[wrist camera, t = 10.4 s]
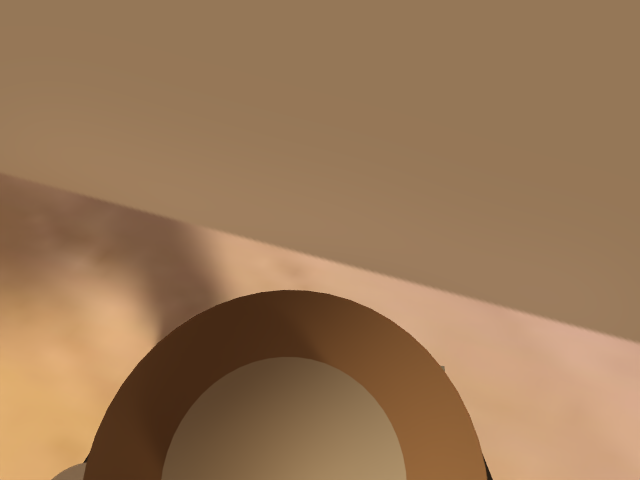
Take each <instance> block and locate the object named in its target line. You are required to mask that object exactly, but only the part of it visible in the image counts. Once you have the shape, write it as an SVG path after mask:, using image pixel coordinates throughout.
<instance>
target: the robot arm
mask: <svg viewBox="0 0 640 480" xmlns="http://www.w3.org/2000/svg"><path fill="white" fill-rule="evenodd" d="M89 454H90V453H89ZM482 455H483V454H482ZM88 457H89V455H88V456H87V458H86V459H85V461H84V463H82V464H78V465H75V466H72V467H70V468H68V469H66V470H64V471H62V472H61V473H59V474H58V475H57V476H55V477H54V478H53V479H52V480H83V477H84V473H85V468H86V463H87V460H88ZM483 459H484V457H483ZM484 464H485V468H486V475H487V480H493V479H492V477H491V474H490V472H489V469H488V467H487V464H486V462H485V459H484Z"/></svg>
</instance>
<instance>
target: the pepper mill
mask: <svg viewBox="0 0 640 480" xmlns="http://www.w3.org/2000/svg"><path fill="white" fill-rule="evenodd" d="M83 480H487V475H486V468H485V464H484V459H483V455H482V451H481V447H480V443H479V440H478V437H477V434H476V431H475V429H474V426H473V423H472V421H471V418H470V415H469V413H468V411H467V409H466V407H465V405H464V403H463V401H462V399H461V397H460V395H459V393H458V391H457V390H456V388H455V387H454V385H453V384H452V382H451V381H450V379H449V378H448V376H447V375H446V373H445V372H444V370H443V369H442V368H441V366H440V365H439V364H438V363H437V362H436V360H435V359H434V358H433V357H432V356H431V354H430V353H429V352H428V351H427V350H426V349H425V348H424V347H423V346H422V345H421V344H420V343H419V342H418V341H417V340H416V339H414V338H413V337H412V336H411V335H410V334H409V333H408V332H406V331H405V330H404V329H402V328H401V327H400V326H398V325H397V324H395V323H394V322H393V321H391V320H390V319H388V318H386V317H385V316H383V315H381V314H379V313H377V312H376V311H374V310H372V309H370V308H368V307H366V306H363V305H361V304H358V303H356V302H353V301H351V300H348V299H345V298H341V297H337V296H334V295H330V294H325V293H318V292H312V291H300V290H280V291H270V292H261V293H256V294H252V295H247V296H243V297H239V298H236V299H233V300H230V301H227V302H224V303H222V304H219V305H216V306H214V307H212V308H210V309H208V310H206V311H204V312H202V313H200V314H198V315H196V316H195V317H193V318H191V319H190V320H188V321H187V322H185V323H184V324H182V325H181V326H179V327H178V328H176V329H175V330H174V331H172V332H171V333H170V334H169V335H167V336H166V337H165V338H164V339H163V340H161V341H160V342H159V343H158V344H157V345H156V346H155V347H154V348H153V349H152V350H151V351H150V352H149V353H148V354H147V355H146V356H145V357H144V358H143V359H142V360H141V361H140V362H139V363H138V364H137V366H136V367H135V368H134V370H133V371H132V372H131V374H130V375H129V376H128V378H127V379H126V380H125V382H124V383H123V384H122V386H121V387H120V389H119V391H118V392H117V394H116V396H115V397H114V399H113V401H112V402H111V404H110V406H109V407H108V409H107V411H106V413H105V416H104V418H103V420H102V422H101V424H100V426H99V429H98V431H97V433H96V435H95V438H94V441H93V445H92V448H91V451H90V454H89V457H88V460H87V463H86V468H85V473H84V477H83Z"/></svg>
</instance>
